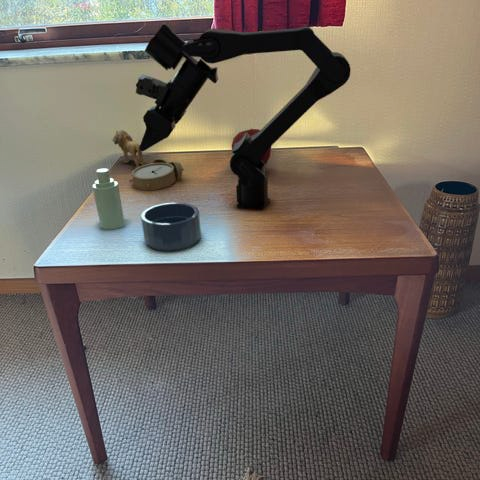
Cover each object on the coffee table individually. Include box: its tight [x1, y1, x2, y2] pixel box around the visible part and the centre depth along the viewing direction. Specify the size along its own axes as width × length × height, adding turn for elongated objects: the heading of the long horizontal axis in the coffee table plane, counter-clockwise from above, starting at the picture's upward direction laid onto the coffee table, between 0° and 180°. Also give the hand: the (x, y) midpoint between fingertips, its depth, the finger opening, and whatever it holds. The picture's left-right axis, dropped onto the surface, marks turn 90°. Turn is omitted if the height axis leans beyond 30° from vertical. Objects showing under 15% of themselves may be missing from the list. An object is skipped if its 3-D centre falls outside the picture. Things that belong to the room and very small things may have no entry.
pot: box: [140, 202, 202, 252], centre depth 105 cm, size 12×12×6 cm
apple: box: [231, 127, 272, 165], centre depth 139 cm, size 11×11×12 cm
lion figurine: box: [111, 129, 147, 169], centre depth 150 cm, size 15×5×9 cm, turn 43°
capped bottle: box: [92, 168, 126, 230], centre depth 112 cm, size 5×5×12 cm
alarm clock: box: [128, 158, 185, 191], centre depth 137 cm, size 11×5×15 cm
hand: (145, 144), depth 115 cm, fingers open, 9 cm apart
